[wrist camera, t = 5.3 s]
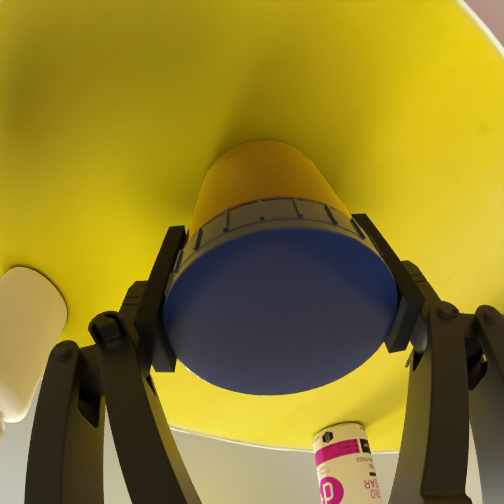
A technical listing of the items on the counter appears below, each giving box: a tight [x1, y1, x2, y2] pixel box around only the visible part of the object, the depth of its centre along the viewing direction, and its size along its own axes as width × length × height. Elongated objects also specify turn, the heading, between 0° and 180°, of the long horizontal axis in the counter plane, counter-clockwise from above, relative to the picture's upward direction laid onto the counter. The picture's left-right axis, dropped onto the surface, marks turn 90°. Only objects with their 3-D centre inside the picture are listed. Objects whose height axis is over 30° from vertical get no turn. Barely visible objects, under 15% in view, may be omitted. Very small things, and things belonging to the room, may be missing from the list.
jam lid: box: [162, 198, 398, 395], centre depth 11 cm, size 8×8×2 cm
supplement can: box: [313, 423, 381, 504], centre depth 34 cm, size 8×8×15 cm
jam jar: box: [182, 140, 353, 250], centre depth 15 cm, size 8×8×10 cm
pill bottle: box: [0, 267, 67, 444], centre depth 17 cm, size 8×8×15 cm
